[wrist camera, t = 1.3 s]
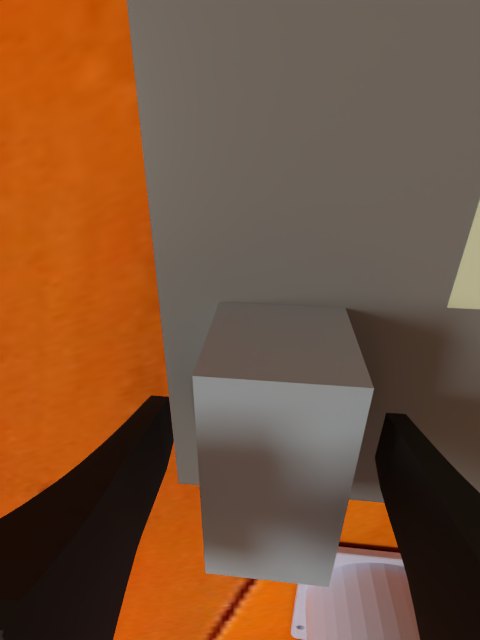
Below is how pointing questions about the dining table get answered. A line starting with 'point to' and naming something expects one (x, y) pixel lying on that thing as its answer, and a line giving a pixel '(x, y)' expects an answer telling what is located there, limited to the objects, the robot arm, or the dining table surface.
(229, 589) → the dining table surface
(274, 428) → the slate brick
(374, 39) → the baseplate
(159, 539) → the dining table surface
